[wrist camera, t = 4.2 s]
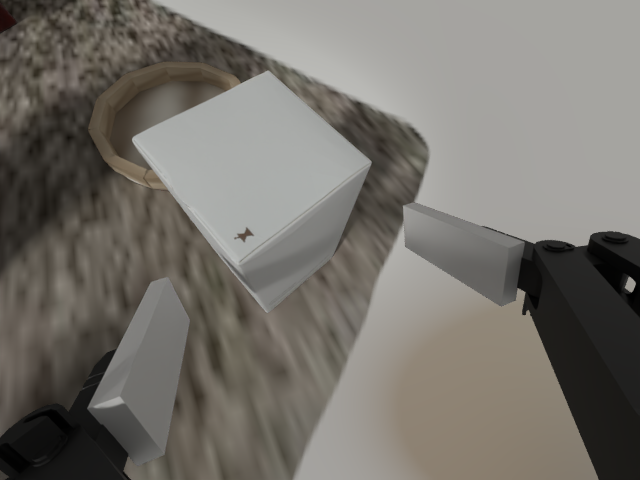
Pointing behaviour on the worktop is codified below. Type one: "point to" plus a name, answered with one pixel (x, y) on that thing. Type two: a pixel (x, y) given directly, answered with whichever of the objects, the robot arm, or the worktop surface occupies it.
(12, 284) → the worktop surface
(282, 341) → the worktop surface
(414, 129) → the worktop surface
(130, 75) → the tan plate
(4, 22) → the red square bottle
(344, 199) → the supplement box
